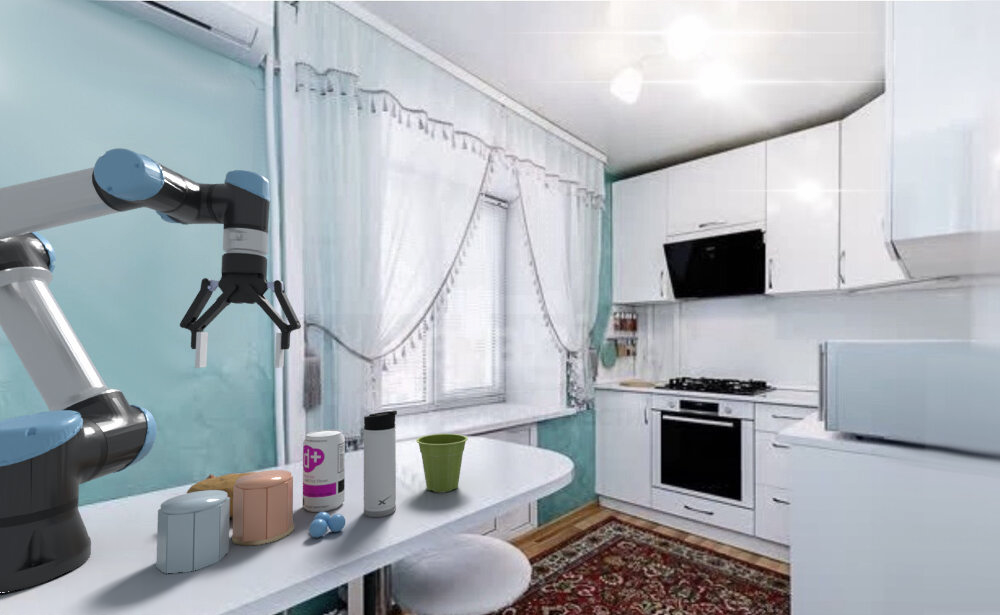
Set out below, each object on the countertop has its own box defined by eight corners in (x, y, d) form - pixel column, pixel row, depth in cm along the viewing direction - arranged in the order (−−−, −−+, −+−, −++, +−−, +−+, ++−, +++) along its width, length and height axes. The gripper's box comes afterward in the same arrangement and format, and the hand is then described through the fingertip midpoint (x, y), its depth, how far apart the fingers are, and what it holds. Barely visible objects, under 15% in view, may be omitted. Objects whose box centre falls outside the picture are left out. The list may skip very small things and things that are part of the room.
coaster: (222, 548, 77) (222, 544, 77) (244, 524, 87) (244, 521, 87) (285, 542, 79) (285, 539, 79) (300, 520, 89) (300, 516, 89)
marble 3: (326, 535, 82) (326, 518, 82) (329, 528, 85) (329, 512, 85) (344, 534, 82) (344, 516, 82) (346, 527, 85) (346, 510, 85)
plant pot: (477, 489, 105) (477, 439, 106) (430, 500, 98) (430, 447, 99) (453, 476, 115) (452, 431, 115) (408, 486, 108) (408, 437, 109)
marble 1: (311, 533, 83) (311, 516, 83) (315, 526, 86) (315, 510, 86) (329, 531, 83) (329, 514, 83) (332, 525, 86) (332, 508, 86)
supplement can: (319, 516, 91) (320, 438, 92) (294, 508, 95) (294, 434, 96) (352, 503, 98) (353, 431, 98) (327, 496, 102) (328, 427, 103)
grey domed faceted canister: (146, 576, 69) (147, 512, 69) (177, 548, 77) (178, 492, 78) (212, 569, 70) (213, 507, 71) (235, 543, 79) (236, 488, 80)
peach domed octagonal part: (226, 543, 78) (227, 487, 78) (245, 522, 87) (246, 471, 87) (282, 538, 79) (283, 483, 80) (296, 518, 88) (296, 468, 89)
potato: (188, 514, 93) (189, 474, 93) (267, 503, 99) (267, 465, 99) (178, 533, 84) (179, 488, 84) (265, 519, 90) (265, 477, 90)
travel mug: (389, 518, 89) (388, 413, 90) (357, 516, 90) (358, 413, 91) (402, 506, 95) (402, 408, 96) (372, 505, 96) (372, 408, 97)
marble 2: (307, 541, 80) (307, 523, 80) (311, 533, 82) (311, 516, 83) (325, 539, 80) (325, 521, 80) (328, 532, 83) (328, 515, 83)
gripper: (161, 248, 82) (154, 368, 80) (309, 253, 86) (305, 368, 84) (183, 255, 89) (177, 366, 88) (318, 260, 93) (315, 365, 92)
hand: (240, 367), depth 86 cm, fingers open, 13 cm apart
